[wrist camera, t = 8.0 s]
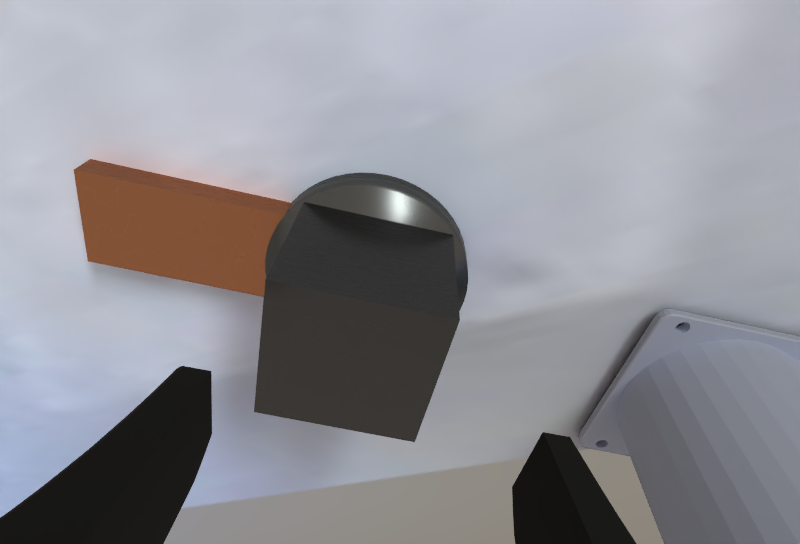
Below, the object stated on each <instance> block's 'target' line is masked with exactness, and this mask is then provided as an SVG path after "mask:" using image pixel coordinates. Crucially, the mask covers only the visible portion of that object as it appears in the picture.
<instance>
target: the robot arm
mask: <svg viewBox="0 0 800 544" xmlns="http://www.w3.org/2000/svg"><path fill="white" fill-rule="evenodd" d="M684 322H685V323H684ZM680 323H684V324H683V325H681V326H677V325H678V324H680ZM676 326H677V327H676ZM211 435H212V404H211V371H207V370H201V369H196V368H191V367H185V366H181V367H179V368H177V369H176V370H175V371H174V372H173V373H172V374H171V375H170V376H169V377H168V378H167V379H166V380H165V381H164V382H163V383H162V384H161V385H160V386H159V387H158V388H157V389H156V390H154V391H153V392H152V393H151V394H150V395H149V396H148V397H147V398H146V399H145V400H144V401H143V402H142V403H141V404H140V405H138V406H137V407H136V408H135V409H134V410H133V411H132V412H131V413H130V414H129V415H128V416H126V417H125V418H124V419H123V420H122V421H121V422H120V423H119V424H117V425H116V426H115V427H114V428H113V429H112V430H111V431H109V432H108V433H107V434H106V435H105V436H104V437H102V438H101V439H100V440H99V441H98V442H97V443H96V444H94V445H93V446H92V447H91V448H90V449H89V450H87V451H86V452H85V453H84V454H83V455H81V456H80V457H79V458H78V459H76V460H75V461H74V462H73V463H71V464H70V465H69V466H68V467H66V468H65V469H64V470H63V471H61V472H60V473H59V474H58V475H56V476H55V477H54V478H53V479H51V480H50V481H49V482H48V483H46V484H45V485H44V486H43V487H41V488H40V489H39V490H37V491H36V492H35V493H33V494H32V495H31V496H29V497H28V498H27V499H25V500H24V501H23V502H21V503H20V504H19V505H17V506H16V507H15V508H13V509H12V510H11V511H9V512H8V513H6V514H5V515H4V516H2V517H1V518H0V544H163V543H164V541H165V539H166V537H167V535H168V533H169V531H170V529H171V527H172V525H173V523H174V521H175V519H176V517H177V515H178V513H179V511H180V509H181V507H182V505H183V503H184V501H185V499H186V497H187V495H188V493H189V491H190V489H191V487H192V485H193V483H194V481H195V478H196V475H197V473H198V470H199V467H200V465H201V462H202V460H203V457H204V454H205V451H206V449H207V446H208V443H209V440H210V438H211ZM578 437H579V441H580V444H581V445H582V446H583V447H586V448H590V449H595V450H601V451H606V452H611V453H617V454H621V455H627V456H630V457H631V459H632V462H633V465H634V467H635V469H636V472H637V475H638V477H639V480H640V483H641V485H642V488H643V490H644V493H645V496H646V498H647V500H648V503H649V506H650V508H651V511H652V513H653V516H654V519H655V521H656V524H657V526H658V529H659V532H660V534H661V537H662V539H663V542H664V544H800V336H795V335H791V334H786V333H781V332H777V331H772V330H767V329H763V328H758V327H753V326H749V325H744V324H739V323H735V322H730V321H725V320H721V319H716V318H711V317H707V316H702V315H698V314H693V313H688V312H684V311H679V310H674V309H666V310H663V311H661V312H659V313H657V315H656V316H655V317H654V318H653V320H652V321H651V323H650V324H649V326H648V327H647V329H646V331H645V332H644V334H643V335H642V337H641V338H640V340H639V341H638V343H637V345H636V346H635V348H634V349H633V351H632V352H631V354H630V355H629V357H628V359H627V360H626V362H625V363H624V365H623V366H622V368H621V369H620V371H619V372H618V374H617V376H616V377H615V379H614V380H613V382H612V383H611V385H610V386H609V388H608V390H607V391H606V393H605V394H604V396H603V397H602V399H601V400H600V402H599V404H598V405H597V407H596V408H595V410H594V411H593V413H592V414H591V416H590V417H589V419H588V421H587V422H586V424H585V425H584V427H583V428H582V430H581V431H580V433H579V436H578ZM512 492H513V518H514V536H515V543H516V544H636V543H635V541H634V539H633V538H632V536H631V535H630V533H629V532H628V531H627V529H626V527H625V526H624V524H623V522H622V521H621V519H620V518H619V516H618V515H617V513H616V512H615V510H614V508H613V507H612V505H611V504H610V502H609V501H608V499H607V497H606V496H605V494H604V493H603V491H602V489H601V487H600V486H599V484H598V483H597V481H596V479H595V478H594V476H593V474H592V473H591V471H590V469H589V468H588V466H587V464H586V463H585V461H584V460H583V458H582V456H581V455H580V453H579V451H578V450H577V448H576V447H575V445H574V443H573V442H572V440H571V438H570V437H566V436H560V435H555V434H550V433H544V432H543V433H542V435H541V437H540V438H539V440H538V442H537V444H536V445H535V447H534V449H533V451H532V453H531V454H530V456H529V458H528V460H527V462H526V463H525V465H524V467H523V469H522V471H521V472H520V474H519V476H518V478H517V479H516V481H515V483H514V485H513V487H512Z"/></svg>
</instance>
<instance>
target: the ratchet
mask: <svg viewBox="0 0 800 544" xmlns="http://www.w3.org/2000/svg"><path fill="white" fill-rule="evenodd" d="M74 174H75V180H76V187H77V193H78V200H79V206H80V213H81V219H82V225H83V232H84V238H85V245H86V251H87V258H88V261H90V262H95V263H100V264H105V265H110V266H115V267H120V268H125V269H130V270H135V271H140V272H144V273H149V274H154V275H159V276H164V277H169V278H174V279H179V280H184V281H189V282H194V283H199V284H204V285H209V286H214V287H218V288H223V289H228V290H233V291H238V292H243V293H248V294H253V295H258V296H263V297H264V292H265V280H266V278H267V276H268V274H269V272H270V270H271V268H272V266H273V264H274V262H275V260H276V257H277V255H278V253H279V251H280V249H281V247H282V245H283V243H284V241H285V239H286V237H287V235H288V233H289V231H290V229H291V227H292V225H293V223H294V221H295V219H296V217H297V215H298V213H299V211H300V209H301V207H302V205H303V203H304V202H307V203H312V204H316V205H321V206H325V207H330V208H334V209H339V210H343V211H348V212H352V213H357V214H361V215H366V216H370V217H375V218H379V219H384V220H388V221H393V222H398V223H402V224H407V225H411V226H416V227H420V228H425V229H429V230H434V231H438V232H443V233H447V234H452V235H453V238H454V251H455V264H456V278H457V291H458V304H459V311H460V308H461V306H462V304H463V302H464V299H465V295H466V292H467V284H468V270H467V260H466V251H465V247H464V242H463V238H462V236H461V233H460V230H459V228H458V226H457V225H456V223H455V221H454V219H453V218H452V216H451V215H450V214H449V212H448V211H447V210H446V209H445V208H444V207H443V206H442V205H441V204H440V203H439V202H438V201H437V200H436V199H435V198H434V197H432V196H431V195H430V194H429V193H427V192H426V191H424V190H422V189H421V188H419V187H417V186H416V185H414V184H411V183H409V182H407V181H404V180H402V179H399V178H395V177H392V176H388V175H382V174H376V173H353V174H345V175H340V176H335V177H332V178H329V179H326V180H324V181H321V182H319V183H317V184H315V185H313V186H311V187H310V188H308V189H307V190H306V191H304V192H303V193H301V194H300V195H299V196H298V197H297V198H296V199H295V200H294V201H293V202H292V203H289V202H285V201H280V200H275V199H271V198H266V197H262V196H257V195H253V194H248V193H243V192H239V191H234V190H230V189H225V188H221V187H216V186H211V185H207V184H202V183H198V182H193V181H188V180H184V179H179V178H175V177H170V176H166V175H161V174H156V173H152V172H147V171H143V170H138V169H134V168H129V167H124V166H120V165H115V164H111V163H106V162H102V161H97V160H92V159H90V160H88V161H87V162H85V163H84V164H82V165H81V166H79V167H77V168H76V169H74Z"/></svg>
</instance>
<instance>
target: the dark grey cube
mask: <svg viewBox="0 0 800 544" xmlns="http://www.w3.org/2000/svg"><path fill="white" fill-rule="evenodd" d="M459 321H460V317H459V304H458V291H457V278H456V264H455V251H454V238H453V235H452V234H447V233H443V232H438V231H434V230H429V229H425V228H420V227H416V226H411V225H407V224H402V223H398V222H393V221H388V220H384V219H379V218H375V217H370V216H366V215H361V214H357V213H352V212H348V211H343V210H339V209H334V208H330V207H325V206H321V205H316V204H312V203H307V202H304V203H303V205H302V207H301V209H300V211H299V213H298V215H297V217H296V219H295V221H294V223H293V225H292V227H291V229H290V231H289V233H288V235H287V237H286V239H285V241H284V243H283V245H282V247H281V249H280V251H279V253H278V255H277V257H276V260H275V262H274V264H273V266H272V268H271V270H270V272H269V274H268V276H267V278H266V280H265V292H264V303H263V315H262V327H261V338H260V350H259V362H258V373H257V385H256V396H255V408H254V412H258V413H263V414H269V415H274V416H279V417H284V418H290V419H295V420H300V421H306V422H311V423H316V424H322V425H327V426H332V427H338V428H343V429H348V430H354V431H359V432H364V433H370V434H375V435H380V436H385V437H391V438H396V439H401V440H407V441H412V442H415V439H416V437H417V434H418V431H419V429H420V426H421V423H422V420H423V418H424V415H425V412H426V410H427V407H428V404H429V402H430V399H431V396H432V393H433V391H434V388H435V385H436V383H437V380H438V377H439V375H440V372H441V369H442V367H443V364H444V361H445V358H446V356H447V353H448V350H449V348H450V345H451V342H452V340H453V337H454V334H455V331H456V329H457V326H458V323H459Z"/></svg>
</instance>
